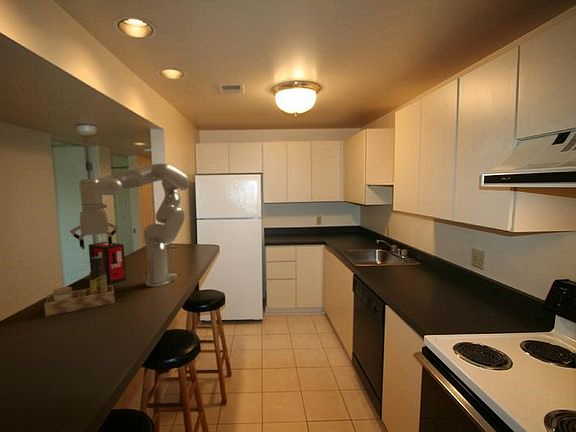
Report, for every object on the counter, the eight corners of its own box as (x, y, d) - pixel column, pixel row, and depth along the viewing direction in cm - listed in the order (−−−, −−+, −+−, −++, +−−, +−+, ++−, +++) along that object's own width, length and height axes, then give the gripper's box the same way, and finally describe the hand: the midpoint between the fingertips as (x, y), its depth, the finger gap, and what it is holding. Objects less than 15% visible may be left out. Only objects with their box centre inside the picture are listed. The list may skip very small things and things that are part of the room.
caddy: (113, 296, 138) (112, 284, 138) (114, 304, 129) (114, 291, 129) (49, 308, 126) (47, 295, 125) (45, 318, 116) (44, 304, 116)
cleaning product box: (125, 280, 162) (123, 244, 160) (109, 285, 154) (107, 247, 152) (107, 276, 170) (105, 241, 168) (91, 280, 162) (88, 244, 160)
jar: (74, 303, 128) (72, 285, 127) (73, 308, 123) (71, 290, 122) (55, 307, 125) (53, 288, 124) (53, 312, 120) (52, 293, 119)
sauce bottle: (99, 304, 127) (95, 259, 125) (87, 303, 128) (83, 259, 126) (111, 298, 133) (108, 255, 131) (99, 297, 135) (96, 255, 132)
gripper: (115, 206, 134) (118, 242, 136) (68, 208, 125) (72, 248, 127) (116, 207, 128) (120, 245, 130) (66, 210, 119) (71, 251, 121)
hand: (96, 247), depth 129 cm, fingers open, 9 cm apart
